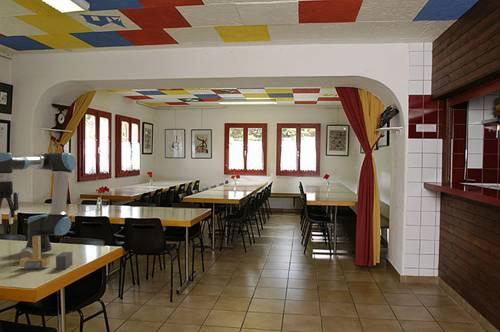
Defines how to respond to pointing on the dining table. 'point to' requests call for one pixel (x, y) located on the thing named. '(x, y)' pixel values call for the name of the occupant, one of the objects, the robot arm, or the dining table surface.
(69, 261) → the slotted grey block
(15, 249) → the dining table surface
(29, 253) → the ceramic mug
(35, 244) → the t-shaped wooden piece
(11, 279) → the dining table surface
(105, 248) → the dining table surface
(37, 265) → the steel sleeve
